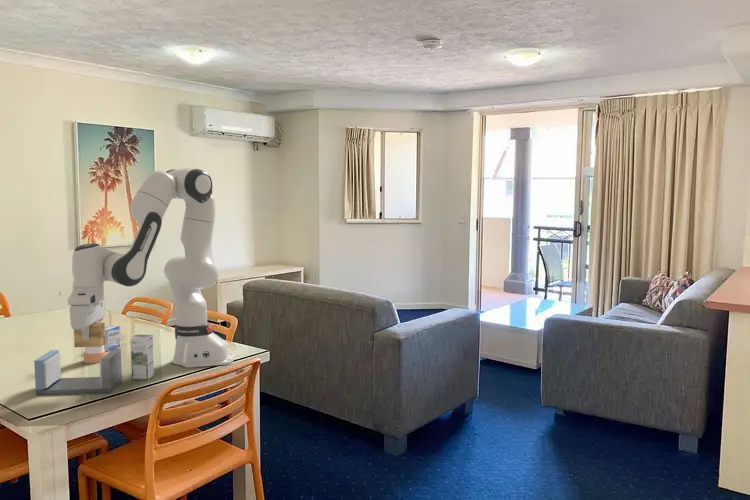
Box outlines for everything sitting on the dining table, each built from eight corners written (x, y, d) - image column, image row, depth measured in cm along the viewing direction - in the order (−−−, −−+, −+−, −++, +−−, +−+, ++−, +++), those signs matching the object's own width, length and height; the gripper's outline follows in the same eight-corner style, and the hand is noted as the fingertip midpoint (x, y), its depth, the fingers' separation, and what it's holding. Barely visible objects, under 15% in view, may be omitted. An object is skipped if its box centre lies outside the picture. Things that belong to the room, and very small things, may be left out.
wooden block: (79, 344, 188) (78, 322, 187) (105, 343, 189) (104, 322, 188) (74, 347, 184) (73, 325, 183) (100, 346, 185) (100, 325, 184)
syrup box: (154, 374, 201) (153, 333, 200) (148, 380, 196) (147, 338, 194) (137, 374, 201) (136, 333, 200) (131, 380, 195) (129, 338, 194)
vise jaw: (61, 377, 192) (60, 349, 191) (45, 389, 180) (44, 360, 179) (52, 377, 192) (50, 350, 191) (35, 389, 180) (34, 360, 179)
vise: (121, 380, 195) (120, 348, 194) (110, 393, 183) (109, 358, 182) (52, 382, 192) (50, 350, 191) (35, 395, 180) (34, 360, 179)
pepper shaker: (85, 358, 219) (83, 309, 217) (106, 357, 222) (104, 307, 220) (82, 364, 213) (80, 312, 211) (104, 362, 215) (102, 311, 213)
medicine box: (108, 351, 230) (107, 330, 229) (98, 350, 231) (97, 329, 230) (120, 346, 237) (120, 325, 237) (111, 345, 238) (110, 325, 237)
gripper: (89, 289, 195) (91, 330, 196) (65, 300, 174) (66, 345, 176) (109, 289, 195) (110, 329, 197) (87, 300, 175) (88, 345, 177)
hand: (89, 337), depth 186 cm, fingers closed on wooden block, 4 cm apart
